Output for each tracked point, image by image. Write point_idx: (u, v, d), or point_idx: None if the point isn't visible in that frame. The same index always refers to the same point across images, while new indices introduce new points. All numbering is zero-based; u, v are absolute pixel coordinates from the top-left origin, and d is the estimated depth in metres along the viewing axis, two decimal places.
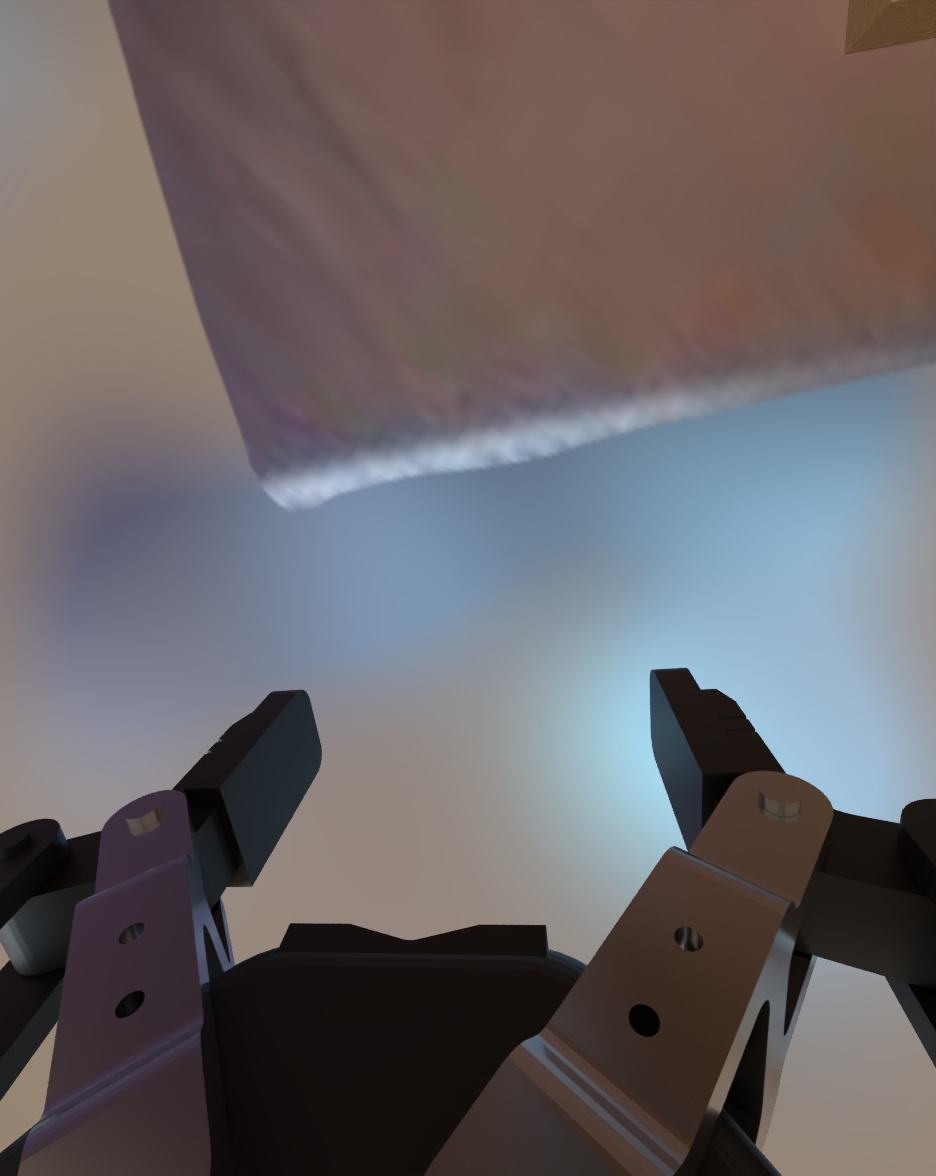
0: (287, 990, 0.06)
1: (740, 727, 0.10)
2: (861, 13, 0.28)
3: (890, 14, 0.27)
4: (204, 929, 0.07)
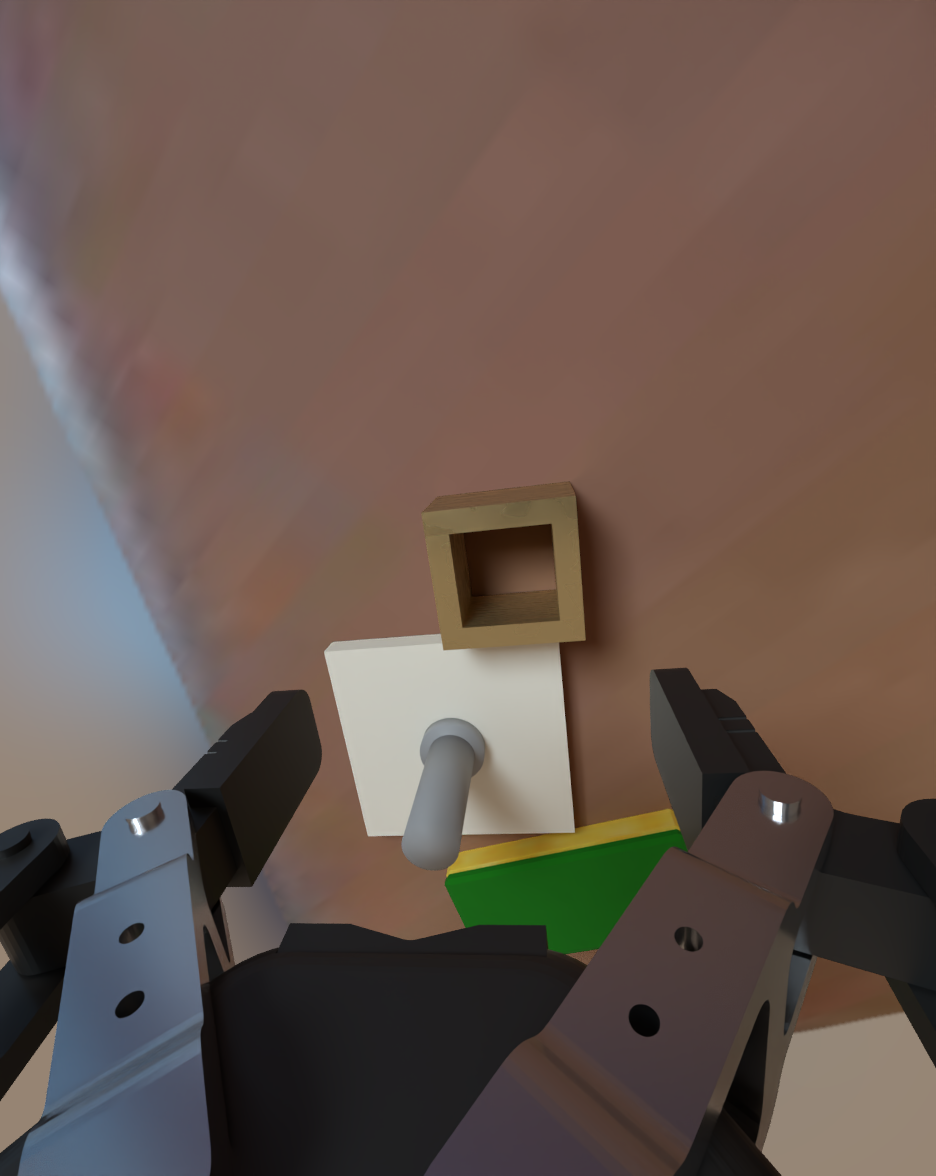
0: (287, 990, 0.06)
1: (740, 727, 0.10)
2: (455, 498, 0.24)
3: None
4: (204, 929, 0.07)
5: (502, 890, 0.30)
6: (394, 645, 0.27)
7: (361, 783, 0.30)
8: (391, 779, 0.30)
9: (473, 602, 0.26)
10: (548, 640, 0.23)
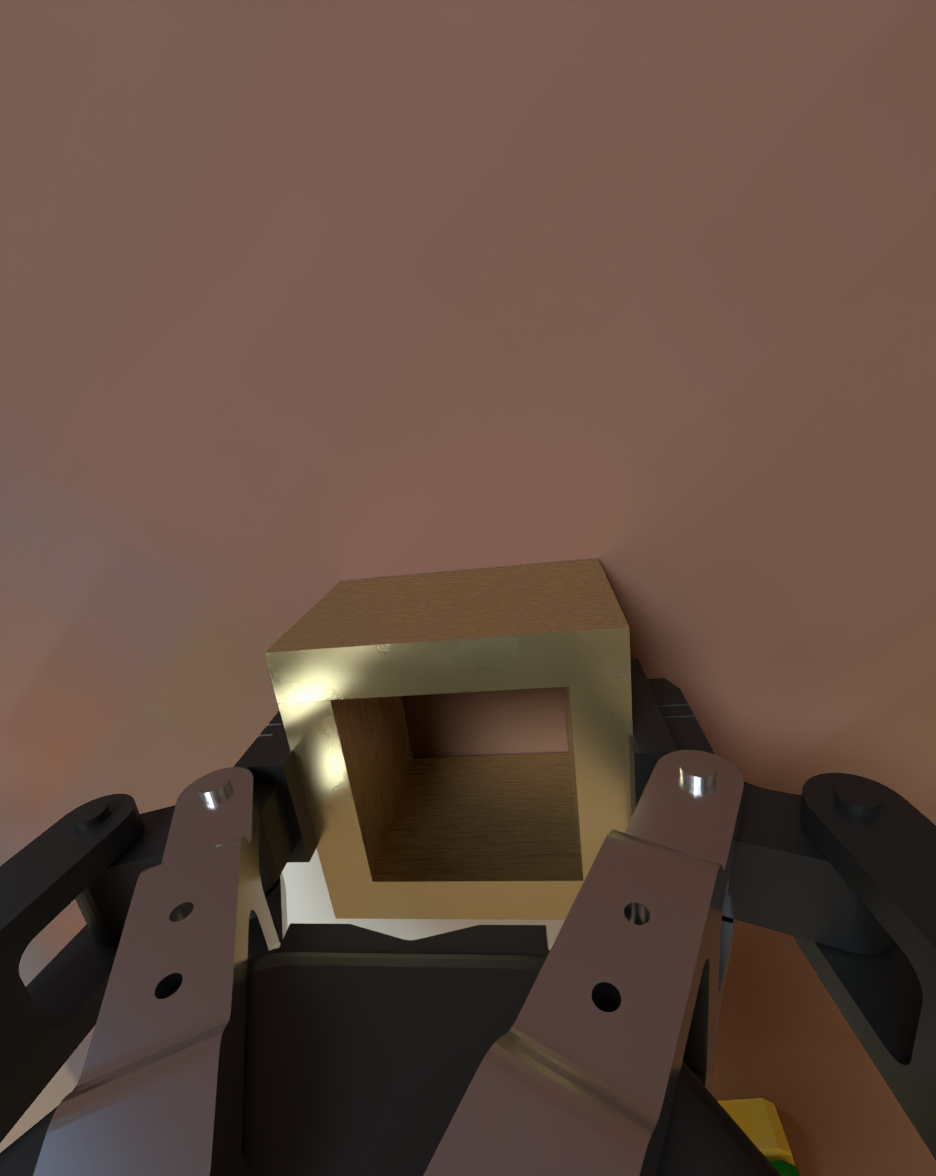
0: (287, 990, 0.06)
1: (680, 713, 0.10)
2: (364, 596, 0.12)
3: None
4: (253, 914, 0.07)
5: None
6: None
7: None
8: None
9: (412, 777, 0.14)
10: (557, 915, 0.10)
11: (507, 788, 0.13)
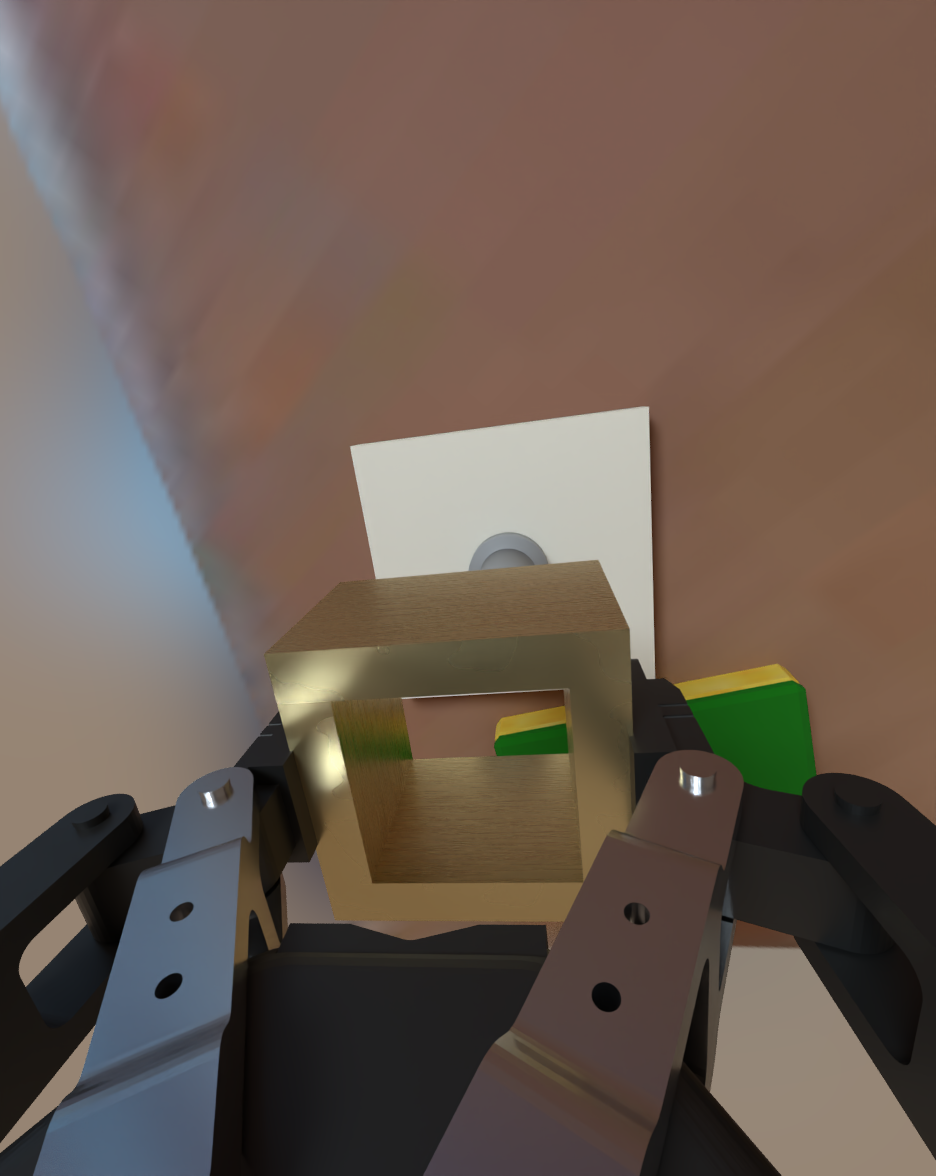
0: (287, 990, 0.06)
1: (680, 713, 0.10)
2: (364, 597, 0.12)
3: None
4: (253, 914, 0.07)
5: None
6: (438, 434, 0.22)
7: None
8: None
9: (412, 778, 0.14)
10: (557, 917, 0.10)
11: (507, 789, 0.13)
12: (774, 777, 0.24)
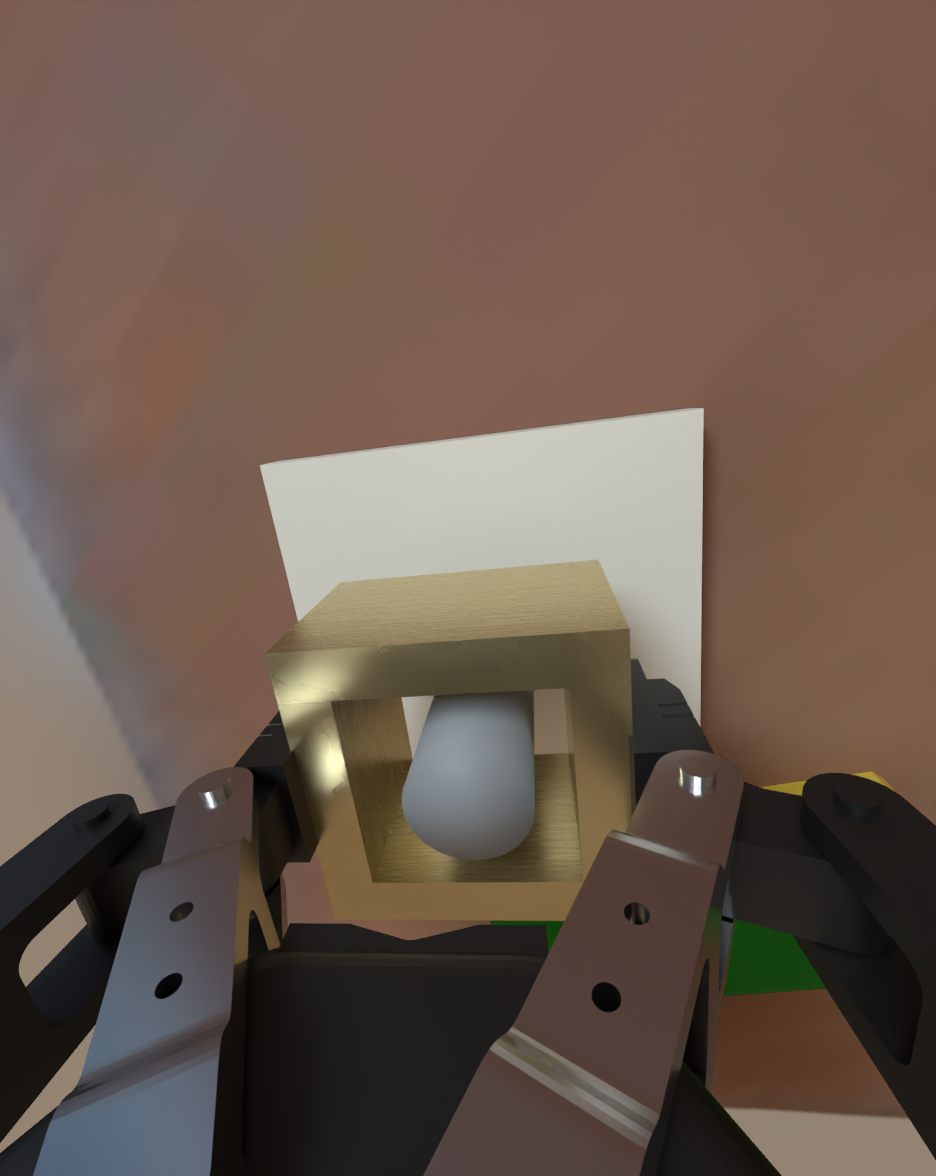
0: (287, 990, 0.06)
1: (680, 713, 0.10)
2: (365, 597, 0.12)
3: None
4: (253, 914, 0.07)
5: None
6: (388, 448, 0.15)
7: None
8: None
9: None
10: (557, 916, 0.10)
11: None
12: None
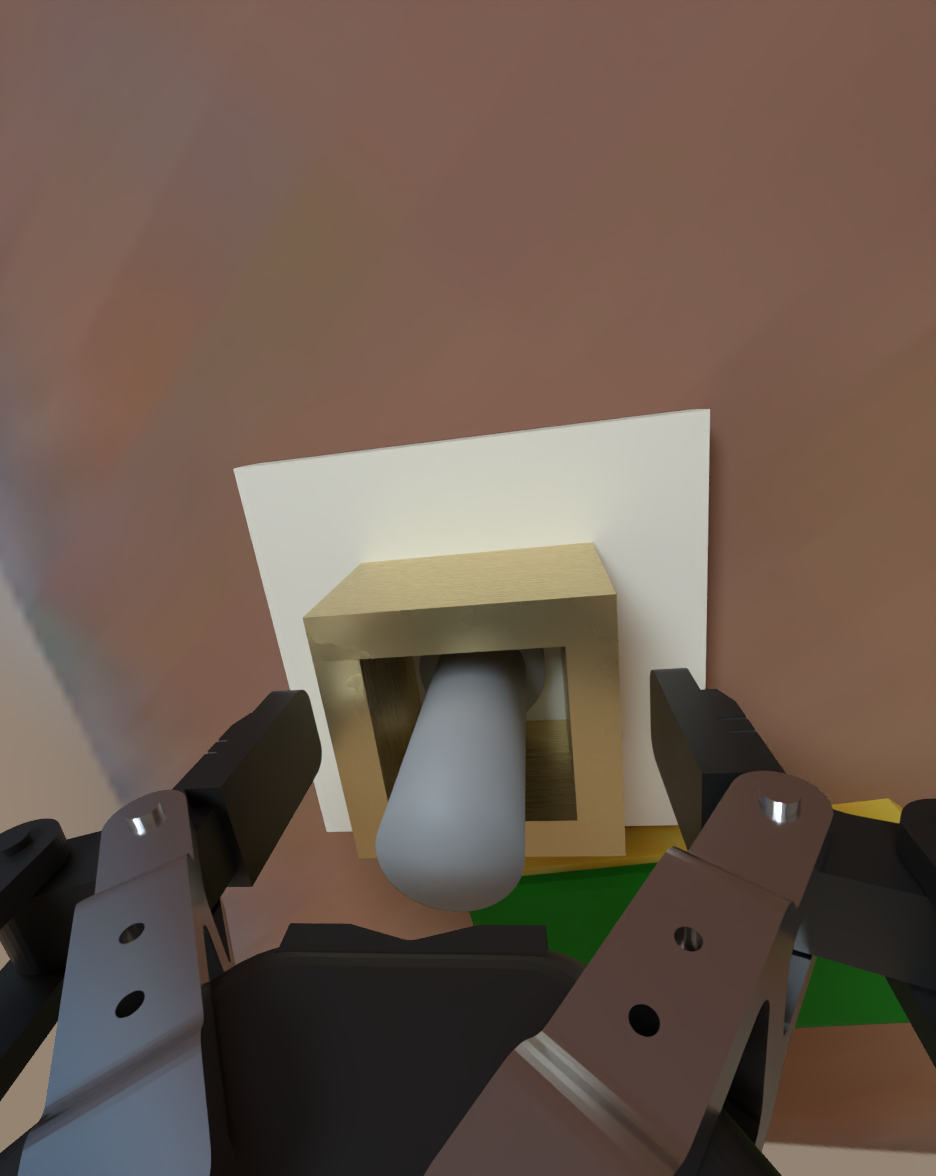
0: (287, 990, 0.06)
1: (740, 727, 0.10)
2: (384, 574, 0.13)
3: None
4: (204, 929, 0.07)
5: (570, 918, 0.17)
6: (370, 451, 0.14)
7: None
8: None
9: None
10: (554, 852, 0.12)
11: None
12: None
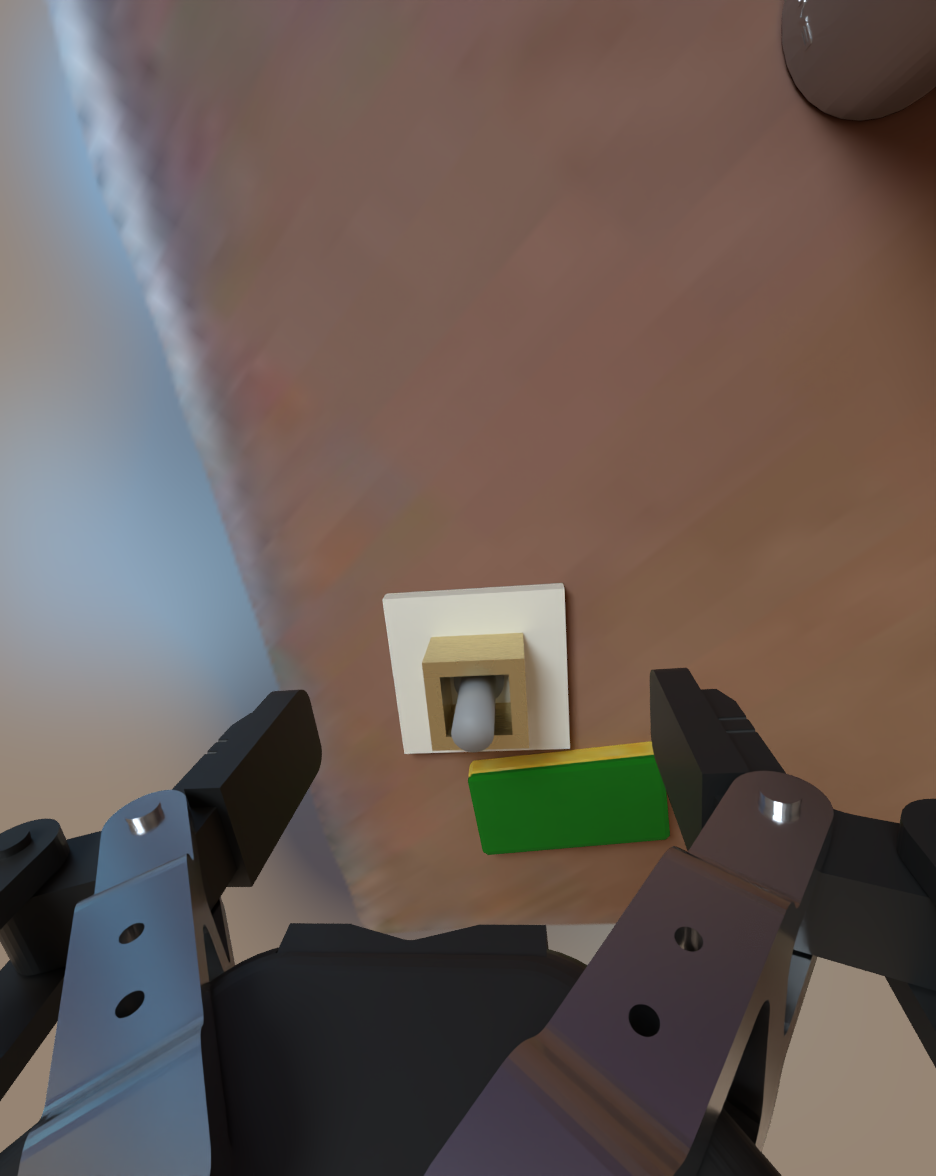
0: (287, 990, 0.06)
1: (740, 727, 0.10)
2: (443, 644, 0.35)
3: None
4: (204, 929, 0.07)
5: (513, 790, 0.38)
6: (438, 595, 0.35)
7: (402, 708, 0.38)
8: None
9: (453, 710, 0.37)
10: (504, 747, 0.34)
11: None
12: (643, 813, 0.38)
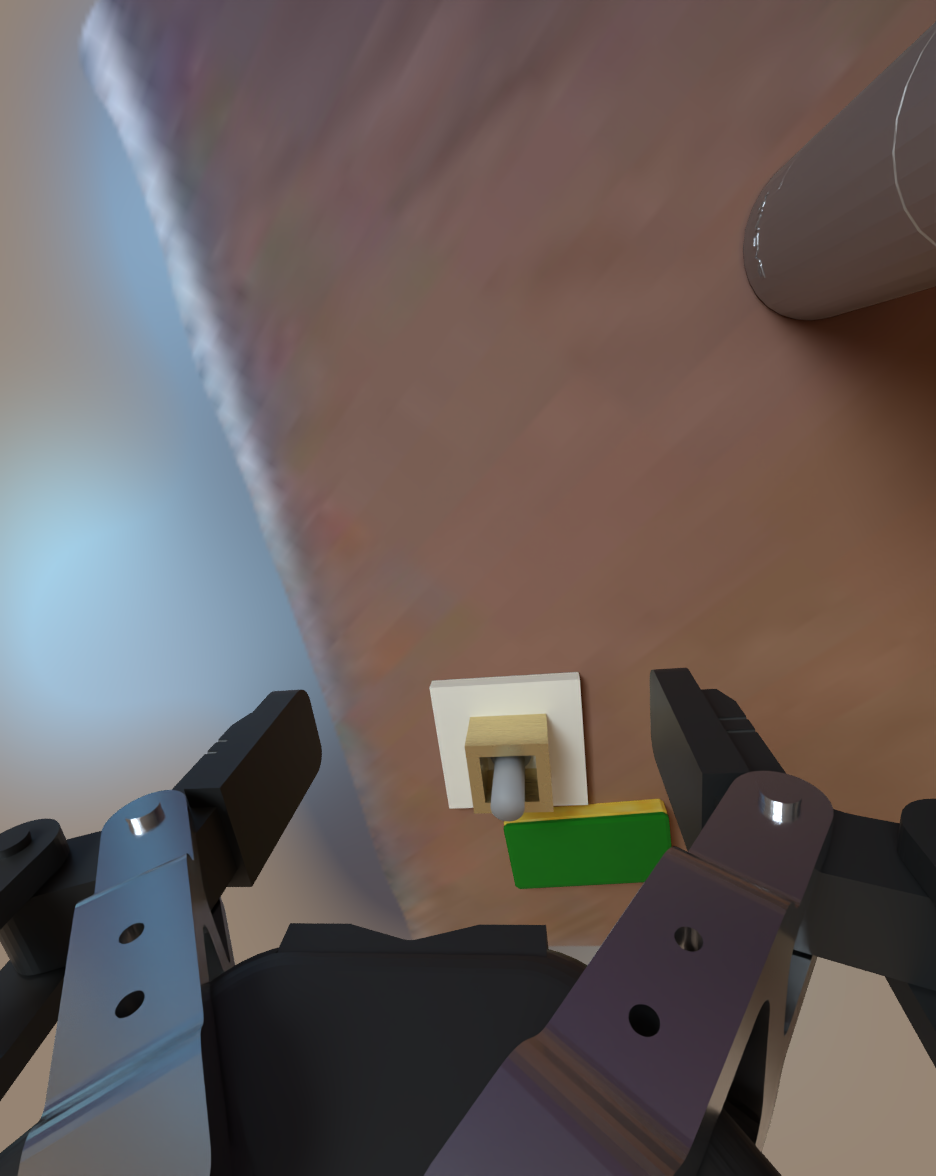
0: (287, 990, 0.06)
1: (740, 727, 0.10)
2: (481, 725, 0.42)
3: None
4: (204, 929, 0.07)
5: (542, 838, 0.46)
6: (475, 684, 0.43)
7: (447, 772, 0.46)
8: None
9: (490, 775, 0.44)
10: (533, 811, 0.41)
11: None
12: (651, 859, 0.45)
